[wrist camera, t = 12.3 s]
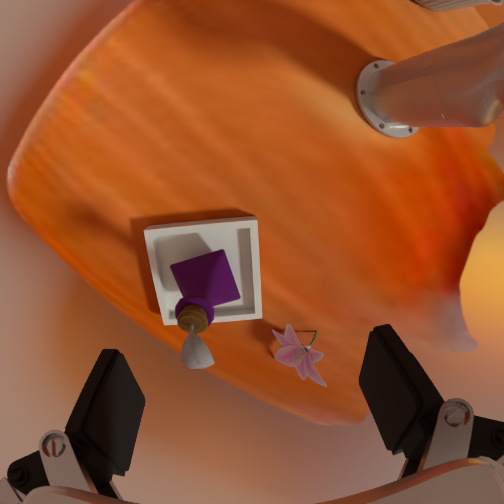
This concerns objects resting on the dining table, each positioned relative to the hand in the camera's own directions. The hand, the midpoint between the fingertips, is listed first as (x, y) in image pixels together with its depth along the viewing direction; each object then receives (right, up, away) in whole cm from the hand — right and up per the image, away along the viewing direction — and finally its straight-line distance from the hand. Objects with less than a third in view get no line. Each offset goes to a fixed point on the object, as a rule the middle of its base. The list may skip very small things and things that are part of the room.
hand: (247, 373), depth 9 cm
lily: (+7, -10, +36) cm, 38 cm away
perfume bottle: (-6, +2, +30) cm, 30 cm away
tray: (-6, +2, +30) cm, 31 cm away
